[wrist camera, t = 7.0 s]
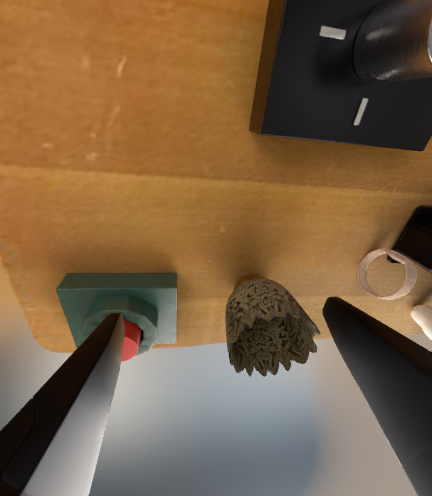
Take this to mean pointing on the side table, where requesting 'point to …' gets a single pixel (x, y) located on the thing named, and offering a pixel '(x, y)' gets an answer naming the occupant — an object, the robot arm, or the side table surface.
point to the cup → (266, 327)
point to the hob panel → (332, 82)
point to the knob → (395, 42)
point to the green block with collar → (121, 304)
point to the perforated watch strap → (408, 264)
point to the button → (130, 340)
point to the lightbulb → (423, 318)
